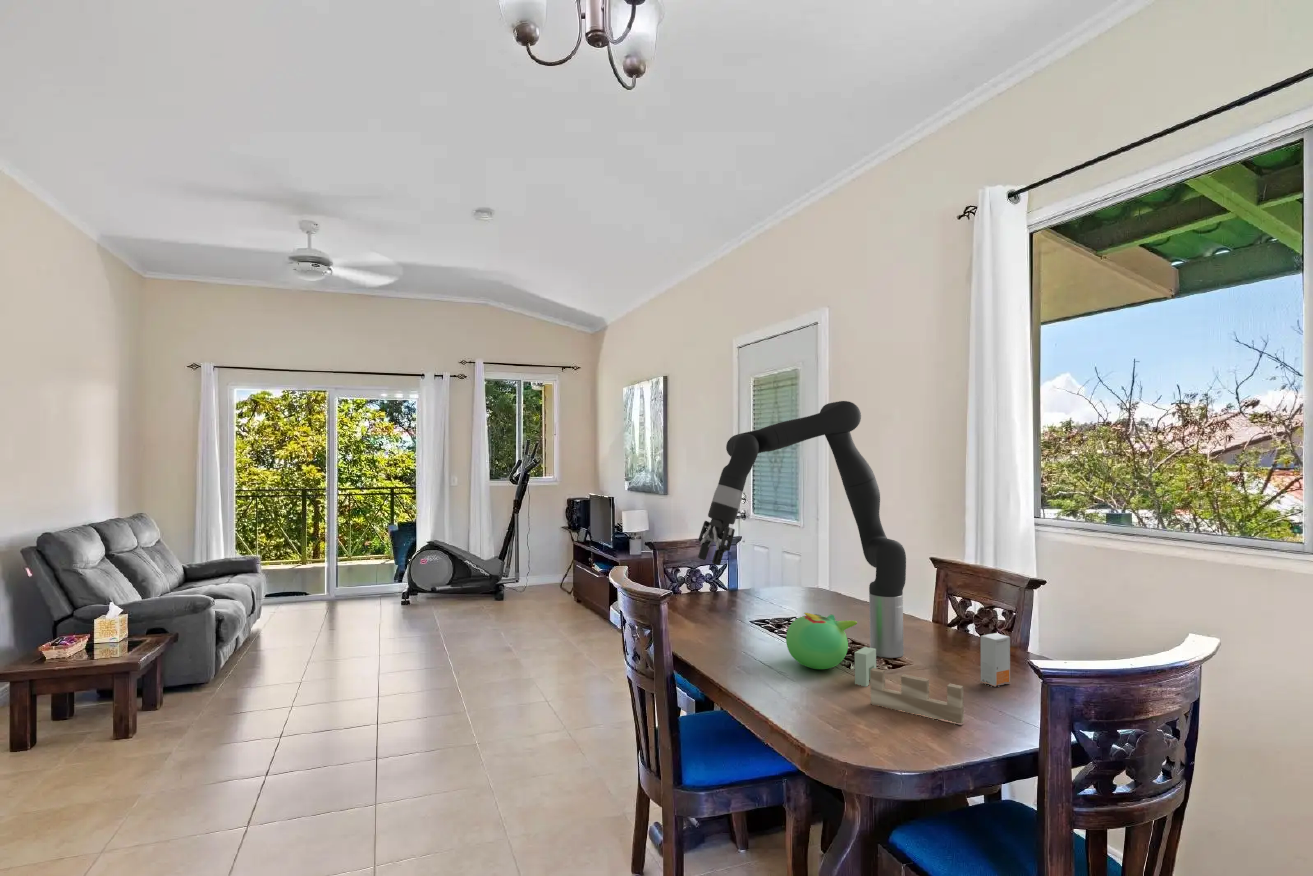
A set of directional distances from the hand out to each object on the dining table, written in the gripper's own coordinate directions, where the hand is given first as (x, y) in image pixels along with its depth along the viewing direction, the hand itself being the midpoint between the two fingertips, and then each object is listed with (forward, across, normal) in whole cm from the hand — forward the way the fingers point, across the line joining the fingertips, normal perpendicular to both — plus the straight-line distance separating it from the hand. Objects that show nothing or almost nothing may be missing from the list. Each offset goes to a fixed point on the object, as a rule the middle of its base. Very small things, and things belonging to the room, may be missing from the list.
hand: (708, 561), depth 185 cm
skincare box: (+7, -39, -67) cm, 78 cm away
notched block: (+17, -25, -40) cm, 50 cm away
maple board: (+17, -46, -36) cm, 61 cm away
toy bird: (+19, -10, -37) cm, 42 cm away
